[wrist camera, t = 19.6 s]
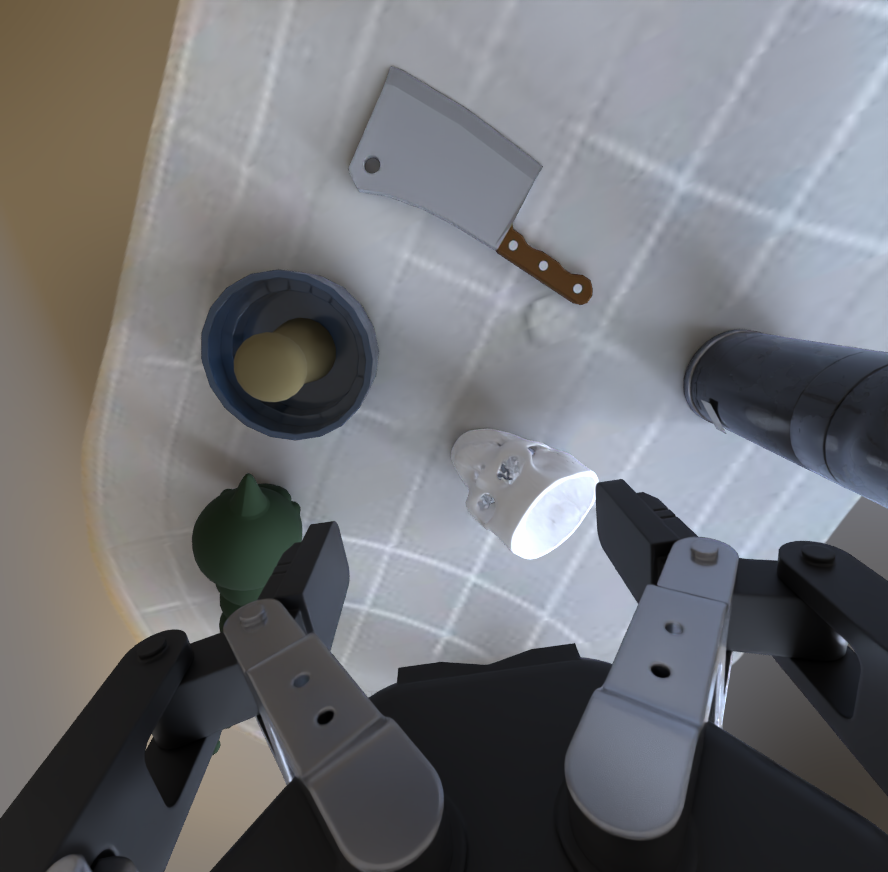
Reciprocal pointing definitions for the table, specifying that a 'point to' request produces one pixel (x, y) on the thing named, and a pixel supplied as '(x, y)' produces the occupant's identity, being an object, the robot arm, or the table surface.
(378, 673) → the table surface
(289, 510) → the toy figurine
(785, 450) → the robot arm
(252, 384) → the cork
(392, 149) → the kitchen cleaver
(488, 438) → the skull bowl
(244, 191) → the table surface
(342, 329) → the bowl
